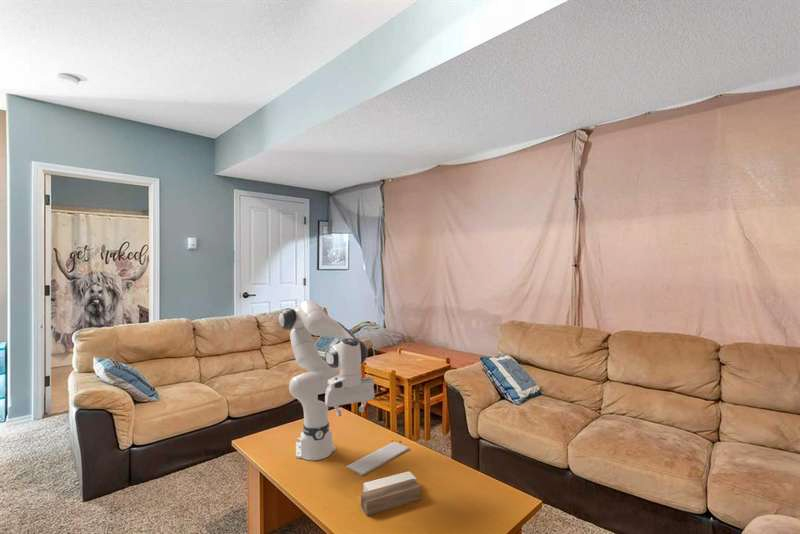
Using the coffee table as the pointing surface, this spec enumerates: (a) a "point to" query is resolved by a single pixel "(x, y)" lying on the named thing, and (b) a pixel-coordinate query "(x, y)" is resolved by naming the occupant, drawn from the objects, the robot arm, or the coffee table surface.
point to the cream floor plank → (388, 481)
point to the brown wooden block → (390, 496)
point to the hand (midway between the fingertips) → (350, 413)
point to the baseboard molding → (377, 458)
